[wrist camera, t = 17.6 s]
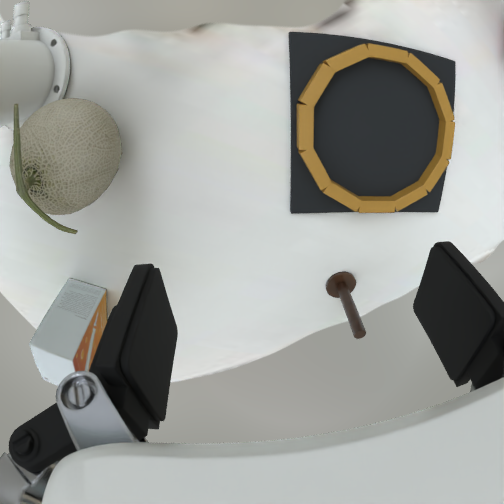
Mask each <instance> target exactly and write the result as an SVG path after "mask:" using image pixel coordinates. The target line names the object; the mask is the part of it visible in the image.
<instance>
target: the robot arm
mask: <svg viewBox="0 0 504 504" xmlns="http://www.w3.org/2000/svg"><path fill="white" fill-rule="evenodd" d="M29 5H30V3H29V1H24V2H21V3H18V4H16V5H15V6H14V14H13V20H14V28H13V29H12V30H11V20H8V21H4V22H2V23H1V32H0V34H1V39H0V127H3V126H6V127H7V128H9V129H11V130H14V104H18V108H19V127H20V128H21V126H22V125H23V123H24V122H25V121H26V120H27V119H28V118H29V117H30V116H31V115H32V114H33V113H34V112H35V111H37V110H38V109H39V108H41V107H43V106H45V105H47V104H49V103H51V102H54V101H57V100H61V99H63V97H64V94H65V92H66V89H67V85H68V82H69V75H70V57H69V51H68V48H67V45H66V43H65V41H64V40H63V38H62V36H60V35H59V34H58V33H57V32H56V31H54V30H52V29H50V28H45V27H33V28H31V25H30V24H28V16H29ZM10 31H11V32H10ZM413 309H414V312H415V314H416V316H417V318H418V319H419V321H420V323H421V325H422V326H423V328H424V330H425V332H426V333H427V335H428V337H429V339H430V340H431V343H432V344H433V346H434V348H435V350H436V352H437V354H438V356H439V358H440V360H441V362H442V363H443V365H444V367H445V369H446V371H447V373H448V375H449V377H450V379H451V380H454V382H455V384H456V387H458V386H461V385H463V384H466V383H468V381H469V380H470V379H471V381H472V386H471V391H470V392H469V393H467V394H465V395H462V396H460V397H457V398H455V399H452V400H449V401H447V402H444V403H441V404H438V405H436V406H432V407H430V408H426V409H424V410H420V411H418V412H414V413H411V414H408V415H404V416H401V417H397V418H394V419H390V420H386V421H382V422H378V423H374V424H370V425H366V426H362V427H357V428H353V429H347V430H342V431H337V432H331V433H326V434H319V435H313V436H306V437H299V438H291V439H281V440H272V441H258V442H242V443H214V444H213V443H212V444H187V443H149V442H148V441H147V439H146V438H145V436H147V433H148V429H159V423H160V421H164V419H165V415H166V408H167V401H168V394H169V386H170V380H171V373H172V367H173V360H174V354H175V348H176V342H177V335H178V332H177V326H176V322H175V319H174V316H173V313H172V310H171V307H170V303H169V300H168V297H167V293H166V290H165V287H164V283H163V280H162V276H161V273H160V270H159V268H154V266H153V264H141V265H135V266H134V267H133V270H132V272H131V274H130V276H129V279H128V281H127V283H126V286H125V288H124V290H123V293H122V295H121V297H120V300H119V302H118V305H116V306H115V307H114V308H113V309H112V311H111V313H110V316H109V318H108V321H107V323H106V326H105V328H104V331H103V334H102V336H101V339H100V341H99V344H98V347H97V350H96V352H95V355H94V358H93V361H92V363H91V366H90V369H89V371H84V370H83V371H76V372H73V373H71V374H69V375H68V376H66V377H65V378H64V379H63V380H62V381H61V383H60V384H59V386H58V389H57V392H56V401H57V403H55V404H54V405H52V406H51V407H49V408H48V409H46V410H45V411H43V412H41V413H40V414H38V415H37V416H35V417H34V418H32V419H31V420H29V421H27V422H26V423H24V424H23V425H21V426H19V427H18V428H17V429H16V430H15V431H14V432H13V434H12V435H11V437H10V441H9V452H10V453H9V454H6V453H3V454H2V456H1V457H0V504H504V302H503V301H502V300H501V298H500V297H499V296H498V294H497V293H496V292H495V291H494V289H493V288H492V287H491V286H490V285H489V283H488V282H487V281H486V280H485V279H484V278H483V277H482V276H481V274H480V273H479V272H478V271H477V270H476V269H475V267H474V266H473V265H472V264H471V263H470V262H469V261H468V260H467V258H466V257H465V256H464V255H463V254H462V253H461V252H460V251H459V250H458V249H457V248H456V247H455V246H454V245H453V244H452V243H451V242H437V243H435V245H434V247H432V248H431V250H430V253H429V257H428V260H427V264H426V267H425V270H424V273H423V277H422V280H421V283H420V286H419V289H418V292H417V295H416V298H415V300H414V304H413Z"/></svg>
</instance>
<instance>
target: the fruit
mask: <svg viewBox="0 0 504 504" xmlns="http://www.w3.org/2000/svg"><path fill="white" fill-rule="evenodd" d="M121 154H122V151H121V139H120V135H119V131H118V128H117V125H116V123H115V121H114V120H113V118H112V117H111V115H110V114H109V113H108V112H107V111H106V110H104V109H103V108H102V107H100V106H99V105H97V104H95V103H93V102H91V101H88V100H84V99H76V98H67V99H61V100H57V101H54V102H51V103H49V104H47V105H45V106H43V107H41V108H39V109H38V110H37V111H35V112H34V113H33V114H32V115H31V116H30V117H29V118H28V119H27V120H26V121H25V122H24V123H23V125H22V126H21V128H20V127H19V108H18V104H14V144H13V147H12V152H11V156H10V170H11V174H12V177H13V180H14V183H15V185H16V191H17V193H18V194H19V196H20V197H21V198H22V199H23V200H24V201H25V203H26V204H27V205H28V206H29V207H30V208H31V209H32V210H33V211H34V212H36V213H37V214H38V215H39V216H40V217H41V218H42V219H44V220H45V221H46V222H48V223H49V224H51V225H52V226H54V227H56V228H57V229H59V230H61V231H64V232H68V233H73V234H76V233H77V230H74V229H70V228H67V227H65V226H63V225H61V224H59V223H57V222H56V221H54V220H52V219H51V218H50V217H49V216H48V215H46V214H51V215H65V214H71V213H74V212H76V211H79V210H81V209H83V208H84V207H86V206H88V205H90V204H91V203H93V202H94V201H95V200H97V199H98V198H99V197H100V196H101V195H102V193H103V192H104V191H105V190H106V189H107V188H108V186H109V185H110V183H111V182H112V180H113V178H114V176H115V174H116V172H117V171H118V166H119V163H120V158H121ZM45 213H46V214H45Z"/></svg>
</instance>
